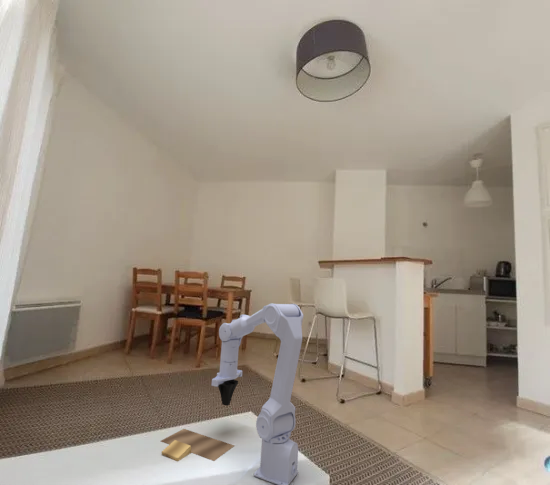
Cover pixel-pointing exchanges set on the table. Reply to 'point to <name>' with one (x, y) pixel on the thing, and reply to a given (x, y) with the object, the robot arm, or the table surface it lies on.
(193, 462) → the table surface
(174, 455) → the tile
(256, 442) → the table surface
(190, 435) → the deck
